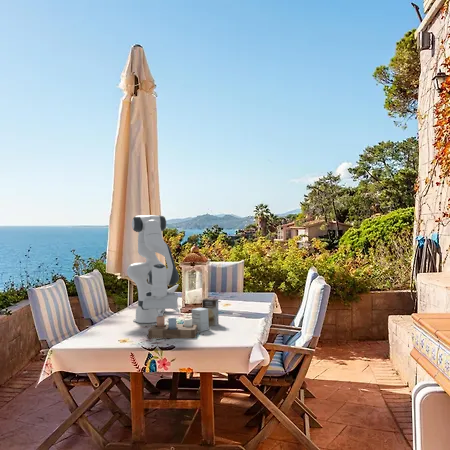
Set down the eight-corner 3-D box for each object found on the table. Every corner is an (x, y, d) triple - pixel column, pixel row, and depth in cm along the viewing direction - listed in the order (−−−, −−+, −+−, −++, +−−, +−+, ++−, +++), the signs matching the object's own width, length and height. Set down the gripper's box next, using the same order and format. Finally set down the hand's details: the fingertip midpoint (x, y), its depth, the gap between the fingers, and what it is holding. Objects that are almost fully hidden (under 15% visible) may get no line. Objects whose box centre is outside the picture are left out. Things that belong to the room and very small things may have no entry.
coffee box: (202, 325, 310) (201, 299, 310) (205, 323, 316) (204, 298, 316) (216, 326, 308) (215, 300, 308) (219, 324, 314) (218, 298, 314)
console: (153, 332, 293) (153, 324, 293) (197, 332, 291) (197, 324, 291) (148, 338, 278) (148, 330, 278) (194, 337, 276) (194, 329, 276)
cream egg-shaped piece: (184, 329, 290) (184, 318, 290) (192, 329, 290) (192, 318, 290) (183, 330, 286) (183, 320, 286) (191, 330, 285) (191, 320, 285)
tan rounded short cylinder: (157, 326, 291) (157, 316, 291) (165, 326, 291) (165, 316, 291) (156, 327, 286) (155, 317, 286) (164, 327, 286) (163, 317, 286)
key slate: (169, 328, 284) (168, 318, 284) (177, 328, 283) (176, 318, 283) (167, 330, 279) (167, 319, 279) (176, 330, 279) (175, 319, 279)
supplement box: (199, 328, 303) (199, 307, 303) (209, 329, 298) (208, 308, 298) (191, 330, 297) (191, 309, 297) (200, 331, 292) (200, 310, 292)
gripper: (178, 291, 291) (179, 315, 291) (144, 292, 292) (144, 315, 292) (177, 293, 285) (177, 317, 285) (141, 293, 286) (142, 317, 286)
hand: (160, 316), depth 288 cm, fingers closed
